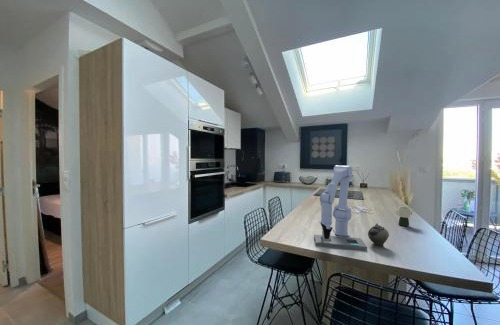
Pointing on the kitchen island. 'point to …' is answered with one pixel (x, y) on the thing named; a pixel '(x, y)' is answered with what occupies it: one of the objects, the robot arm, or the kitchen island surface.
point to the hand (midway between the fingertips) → (326, 237)
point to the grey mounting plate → (341, 242)
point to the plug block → (324, 237)
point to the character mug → (404, 215)
